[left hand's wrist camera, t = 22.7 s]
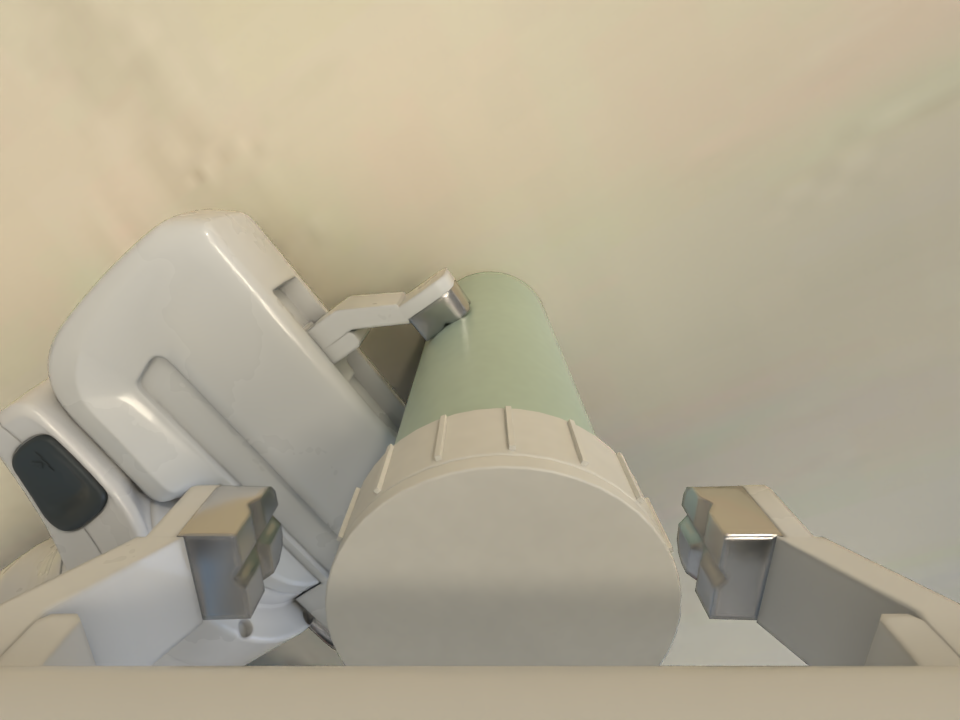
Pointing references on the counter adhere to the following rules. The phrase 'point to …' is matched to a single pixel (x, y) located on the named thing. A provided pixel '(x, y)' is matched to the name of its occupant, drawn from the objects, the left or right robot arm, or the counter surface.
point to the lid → (502, 552)
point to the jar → (493, 359)
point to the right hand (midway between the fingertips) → (512, 361)
